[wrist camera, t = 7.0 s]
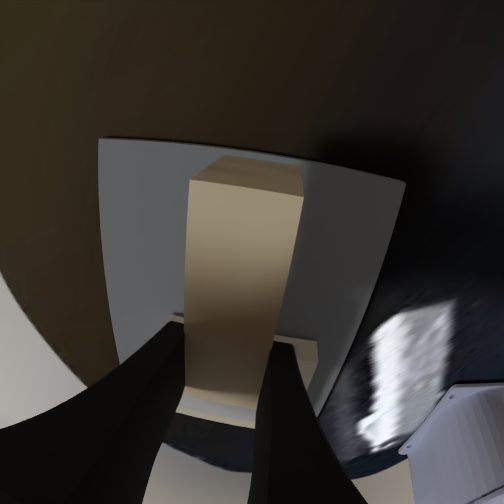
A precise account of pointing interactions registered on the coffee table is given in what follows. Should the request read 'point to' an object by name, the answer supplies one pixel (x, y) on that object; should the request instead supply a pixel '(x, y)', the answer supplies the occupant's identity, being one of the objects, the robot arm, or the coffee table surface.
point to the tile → (305, 362)
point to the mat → (302, 263)
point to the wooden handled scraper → (236, 279)
